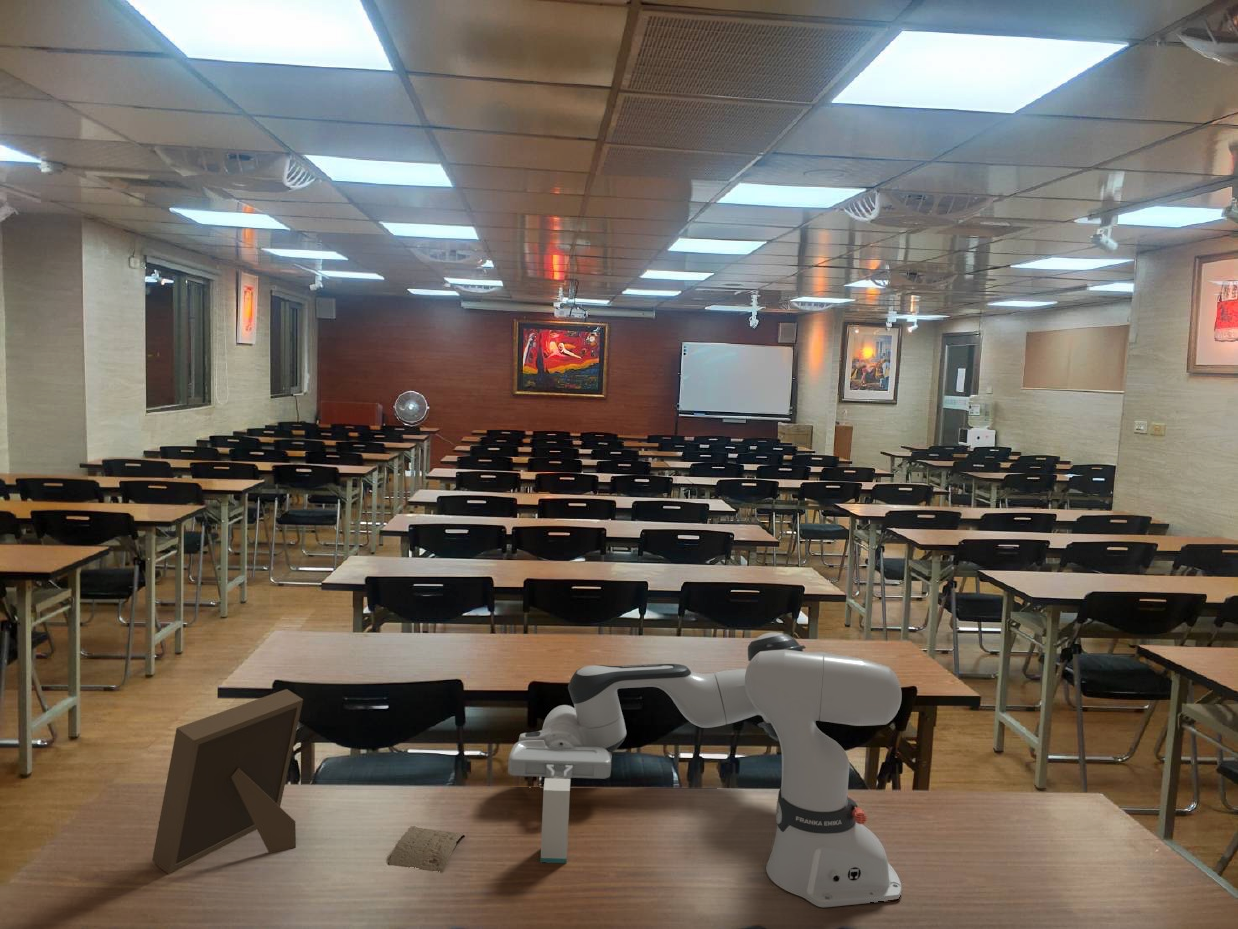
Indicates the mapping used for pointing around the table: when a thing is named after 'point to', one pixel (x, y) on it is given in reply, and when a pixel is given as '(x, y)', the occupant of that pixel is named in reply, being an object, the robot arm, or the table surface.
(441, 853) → the clay tablet
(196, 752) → the photo frame
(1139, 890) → the table surface
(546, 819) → the block
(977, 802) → the table surface
